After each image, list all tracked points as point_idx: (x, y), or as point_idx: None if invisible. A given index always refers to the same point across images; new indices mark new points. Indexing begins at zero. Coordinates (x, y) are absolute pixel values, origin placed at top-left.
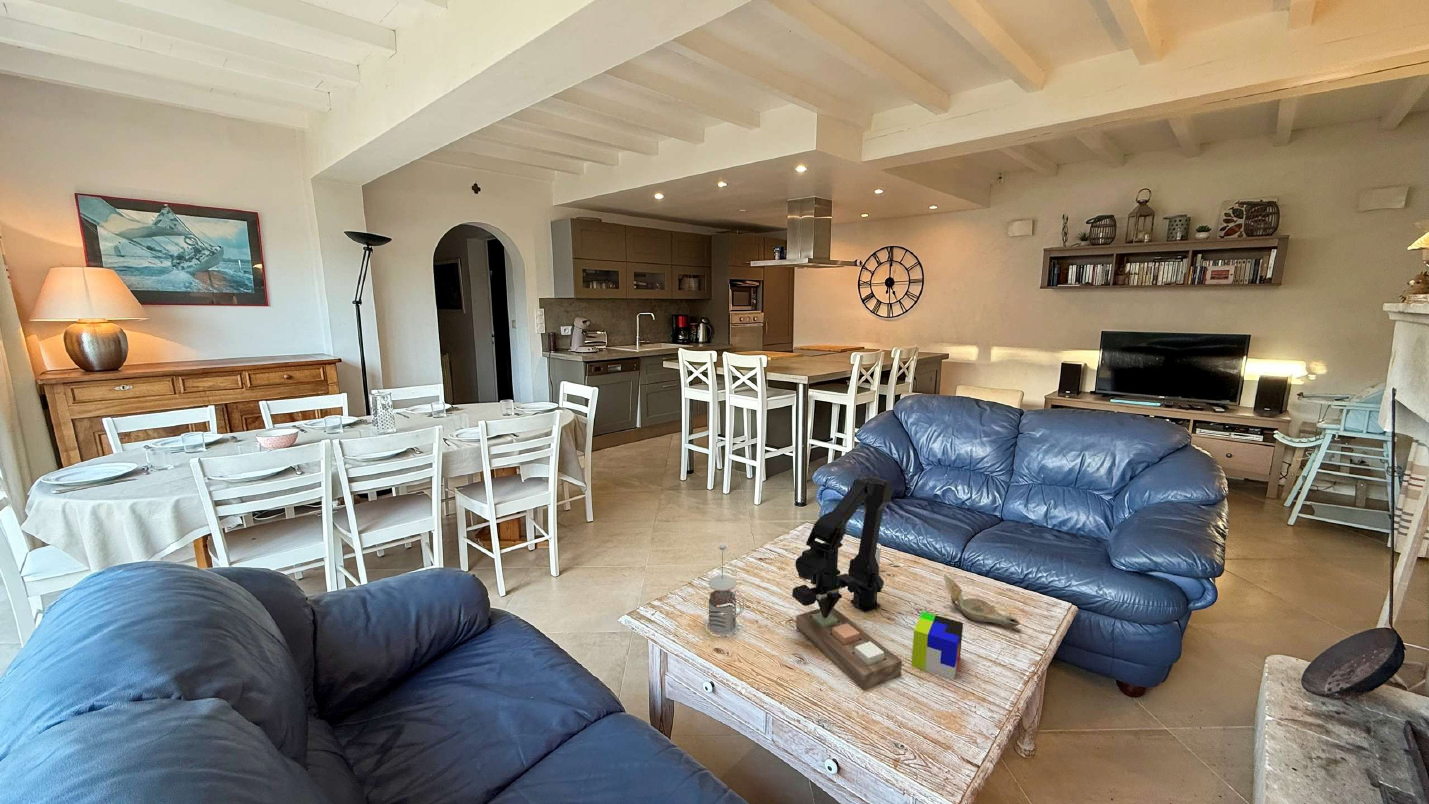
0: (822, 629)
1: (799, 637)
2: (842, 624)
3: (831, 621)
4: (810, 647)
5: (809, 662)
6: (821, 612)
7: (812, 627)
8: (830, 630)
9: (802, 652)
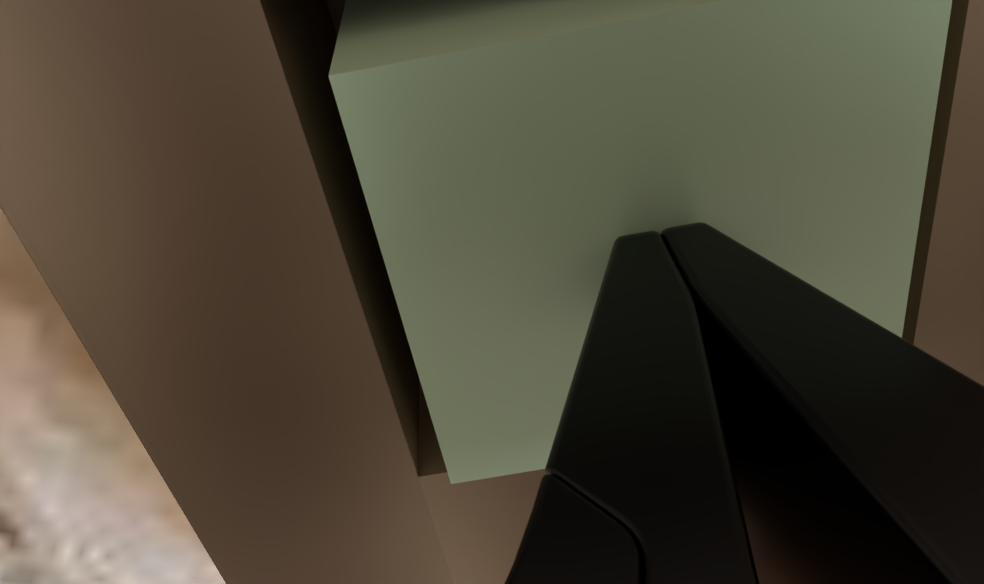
0: (388, 521)
1: None
2: None
3: None
4: None
5: (86, 581)
6: (596, 317)
7: (192, 443)
8: None
9: (22, 437)
